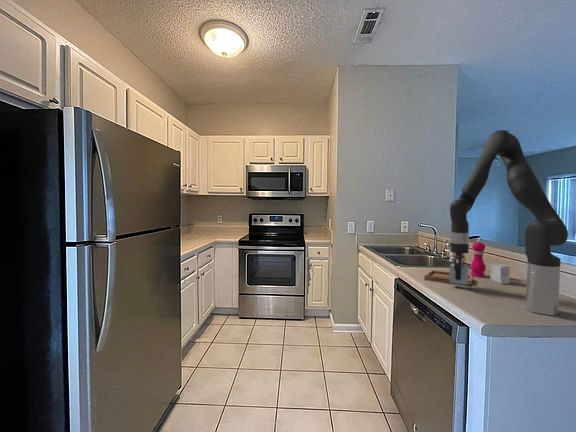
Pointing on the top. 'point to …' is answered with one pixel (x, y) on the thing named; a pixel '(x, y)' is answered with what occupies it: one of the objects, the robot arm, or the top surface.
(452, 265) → the panel block
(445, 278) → the wooden serving tray
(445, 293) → the top surface
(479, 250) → the pepper mill
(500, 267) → the medicine box
